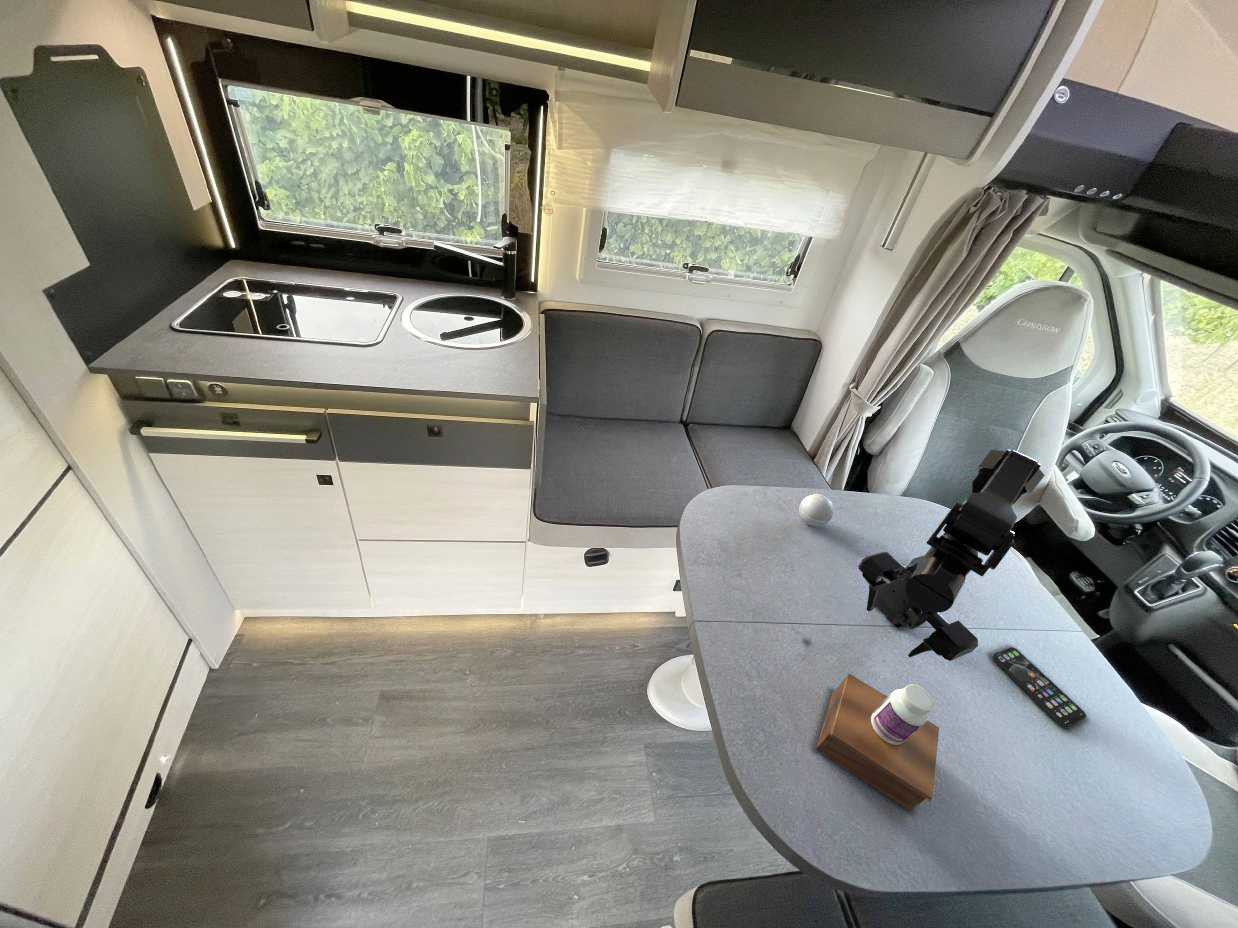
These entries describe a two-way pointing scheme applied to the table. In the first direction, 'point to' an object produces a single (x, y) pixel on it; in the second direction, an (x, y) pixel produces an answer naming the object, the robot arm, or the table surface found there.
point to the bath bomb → (816, 510)
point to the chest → (862, 761)
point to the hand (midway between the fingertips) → (889, 632)
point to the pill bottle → (902, 714)
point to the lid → (899, 761)
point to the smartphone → (1039, 687)
